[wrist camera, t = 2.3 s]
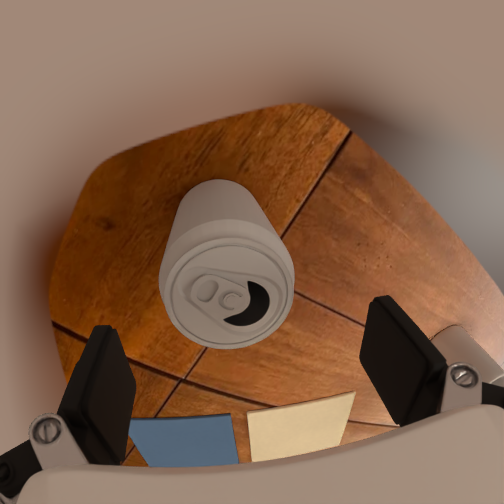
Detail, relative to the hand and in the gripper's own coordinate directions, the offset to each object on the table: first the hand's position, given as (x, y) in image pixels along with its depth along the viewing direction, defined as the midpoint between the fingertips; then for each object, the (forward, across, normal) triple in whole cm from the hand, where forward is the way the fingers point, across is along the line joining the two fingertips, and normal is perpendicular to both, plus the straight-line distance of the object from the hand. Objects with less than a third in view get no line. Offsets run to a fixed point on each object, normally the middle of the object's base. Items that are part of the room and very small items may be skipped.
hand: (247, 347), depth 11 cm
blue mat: (+15, +9, +31) cm, 35 cm away
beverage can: (+15, +1, 0) cm, 15 cm away
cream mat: (+15, -7, +31) cm, 35 cm away
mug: (+16, -29, +22) cm, 40 cm away
